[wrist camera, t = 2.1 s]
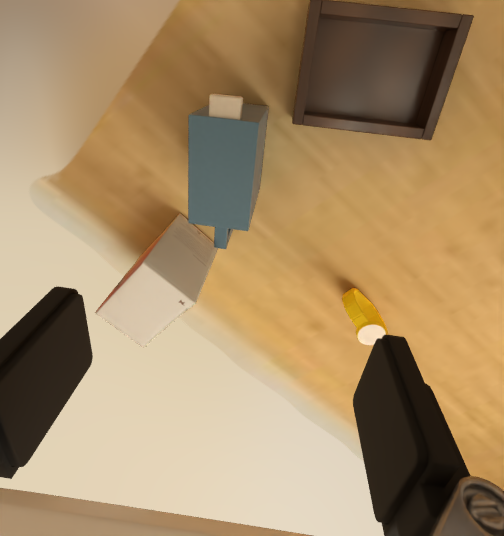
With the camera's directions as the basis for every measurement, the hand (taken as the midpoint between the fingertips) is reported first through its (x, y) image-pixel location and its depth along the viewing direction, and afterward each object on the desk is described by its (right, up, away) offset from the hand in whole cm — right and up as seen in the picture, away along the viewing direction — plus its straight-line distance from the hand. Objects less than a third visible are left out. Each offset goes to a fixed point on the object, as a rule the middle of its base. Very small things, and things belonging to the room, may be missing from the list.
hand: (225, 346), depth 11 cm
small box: (-7, +4, +28) cm, 29 cm away
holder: (+10, +18, +17) cm, 27 cm away
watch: (+13, -1, +28) cm, 31 cm away
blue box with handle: (0, +14, +21) cm, 25 cm away
